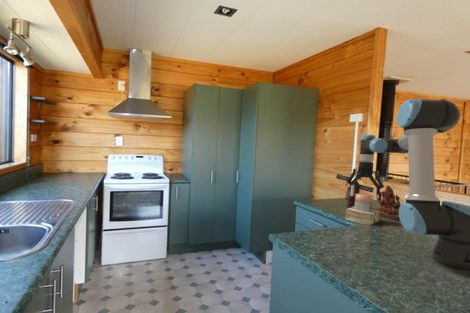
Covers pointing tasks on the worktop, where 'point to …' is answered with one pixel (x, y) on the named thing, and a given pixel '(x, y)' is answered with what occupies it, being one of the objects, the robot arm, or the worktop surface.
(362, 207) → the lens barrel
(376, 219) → the square wooden block
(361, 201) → the pink mushroom-shaped knob
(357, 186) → the miniature windmill
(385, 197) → the sculpture
